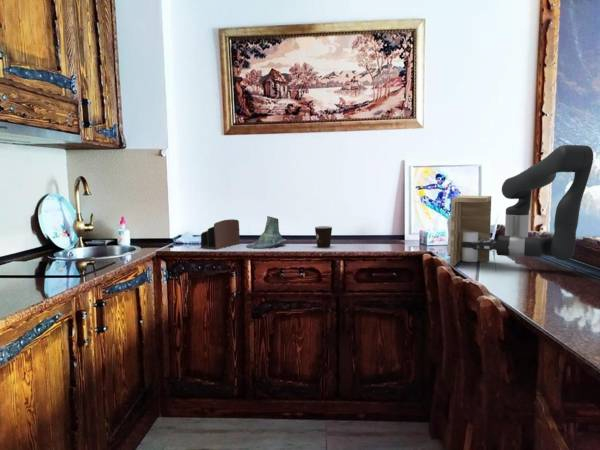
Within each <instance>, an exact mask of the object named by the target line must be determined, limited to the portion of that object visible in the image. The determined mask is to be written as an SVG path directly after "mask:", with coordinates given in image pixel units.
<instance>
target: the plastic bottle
mask: <svg viewBox="0 0 600 450" xmlns="http://www.w3.org/2000/svg"><path fill="white" fill-rule="evenodd" d="M446 222H447V223H446V224H447V231H448V232H447V235H448V237H447V245H446V253H447V254H448V255H449V256H450V244H451V215H450V216H449V217H448V219H447V221H446Z"/></svg>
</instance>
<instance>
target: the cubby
mask: <svg viewBox="0 0 600 450" xmlns="http://www.w3.org/2000/svg"><path fill="white" fill-rule="evenodd" d="M450 202H451V206H450V207H451V209H450V216H451V244H450V255H449V256H450V257H449V267H450V268H454V267H455V266H456V265H457V264H458V263H459V262H461V261H463V260H462V242H463V232H467V231H471V232H478V239H491V219H492V218H491V217H492V216H491V215H492V195H456V196H454V197H453V196H452V197H451V201H450ZM490 253H491V252H490V251H486V250H478V261H477V262H480V263H481V262H484V263H490V255H491V254H490Z"/></svg>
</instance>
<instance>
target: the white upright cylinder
mask: <svg viewBox="0 0 600 450" xmlns="http://www.w3.org/2000/svg"><path fill="white" fill-rule="evenodd" d="M463 242H478V232H471V231H467V232H463ZM477 247H478V245H477ZM461 261H464V262H471V263H472V262H474V263H475V262H479V261H478V250H474V249H472V248H463V247H462V260H461Z"/></svg>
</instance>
